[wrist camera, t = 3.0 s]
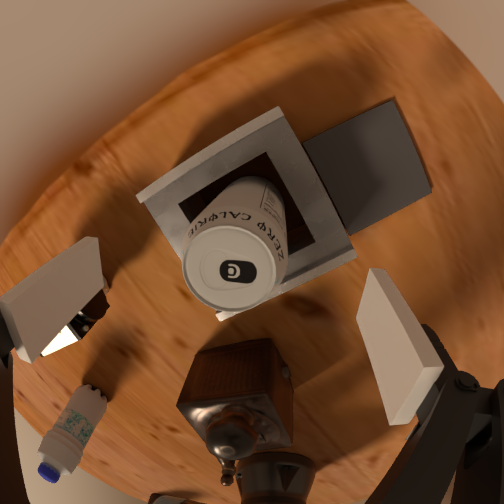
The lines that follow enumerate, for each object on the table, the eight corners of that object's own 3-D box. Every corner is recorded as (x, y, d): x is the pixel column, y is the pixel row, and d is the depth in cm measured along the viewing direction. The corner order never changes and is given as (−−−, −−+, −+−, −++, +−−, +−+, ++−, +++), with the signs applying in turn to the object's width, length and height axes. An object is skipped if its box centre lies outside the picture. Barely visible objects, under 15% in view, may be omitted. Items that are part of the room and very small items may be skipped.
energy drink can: (223, 172, 28) (169, 208, 14) (286, 177, 28) (295, 218, 14) (220, 232, 30) (173, 314, 16) (281, 237, 30) (281, 326, 16)
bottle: (85, 374, 41) (28, 463, 23) (117, 399, 43) (69, 491, 24) (74, 387, 43) (23, 467, 25) (103, 410, 45) (59, 492, 26)
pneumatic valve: (136, 281, 33) (84, 342, 22) (80, 312, 36) (32, 365, 25) (110, 241, 32) (46, 290, 21) (58, 279, 35) (2, 326, 24)
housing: (230, 286, 32) (220, 321, 26) (163, 182, 29) (135, 195, 23) (342, 231, 29) (357, 256, 23) (278, 113, 26) (278, 105, 19)
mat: (348, 233, 29) (349, 235, 29) (301, 143, 26) (302, 143, 26) (429, 191, 27) (432, 192, 26) (390, 100, 24) (392, 100, 23)
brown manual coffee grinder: (299, 390, 38) (301, 509, 21) (224, 403, 40) (201, 512, 23) (263, 298, 33) (246, 439, 16) (175, 320, 35) (114, 440, 18)
